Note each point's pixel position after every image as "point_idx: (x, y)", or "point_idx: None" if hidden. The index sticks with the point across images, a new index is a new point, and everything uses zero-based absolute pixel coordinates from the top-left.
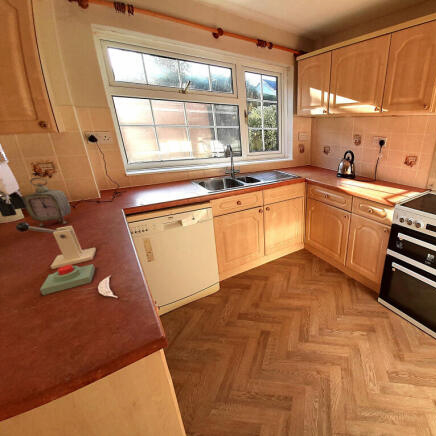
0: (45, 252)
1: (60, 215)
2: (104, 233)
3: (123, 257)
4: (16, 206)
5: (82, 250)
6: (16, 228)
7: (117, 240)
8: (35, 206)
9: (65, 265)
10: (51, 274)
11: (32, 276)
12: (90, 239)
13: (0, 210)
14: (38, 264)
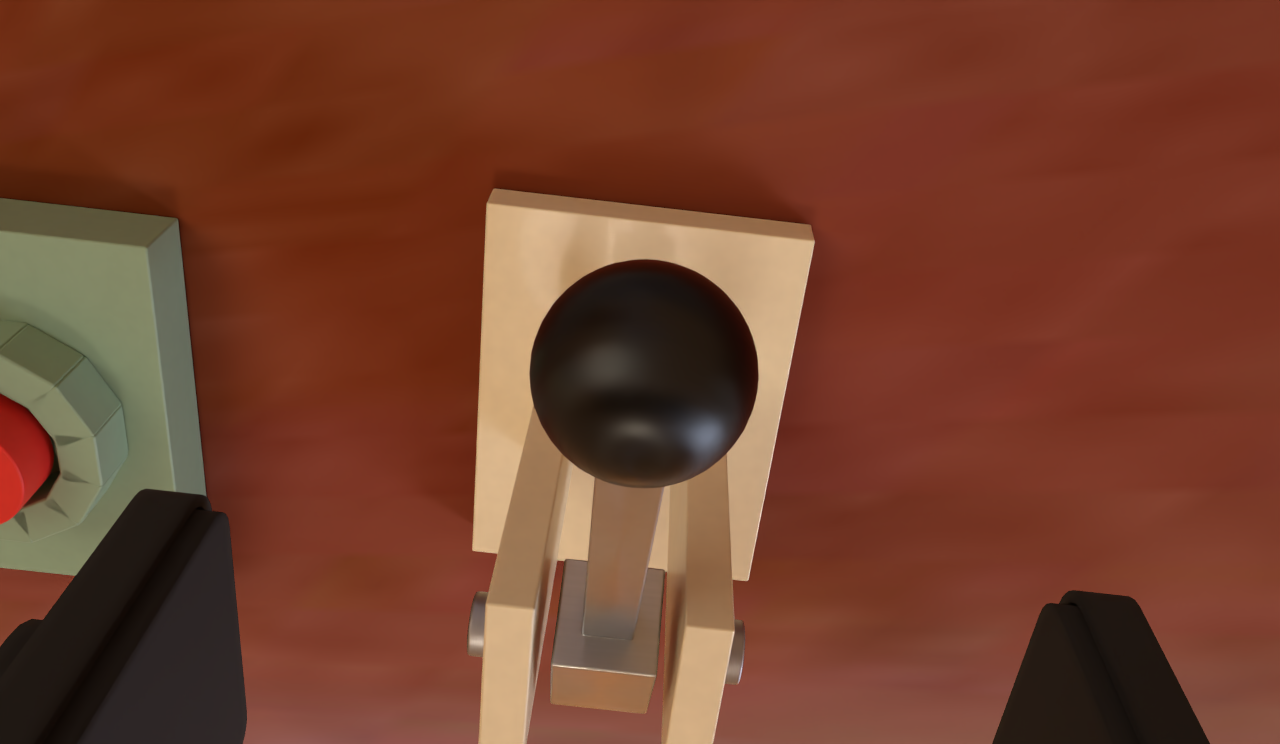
0: (1218, 36)
1: None
2: (1270, 638)
3: (340, 734)
4: (1052, 734)
5: (751, 476)
6: (584, 285)
7: (864, 726)
8: None
9: (18, 477)
10: (137, 270)
11: (415, 6)
12: (1195, 510)
13: (38, 661)
14: (784, 13)
